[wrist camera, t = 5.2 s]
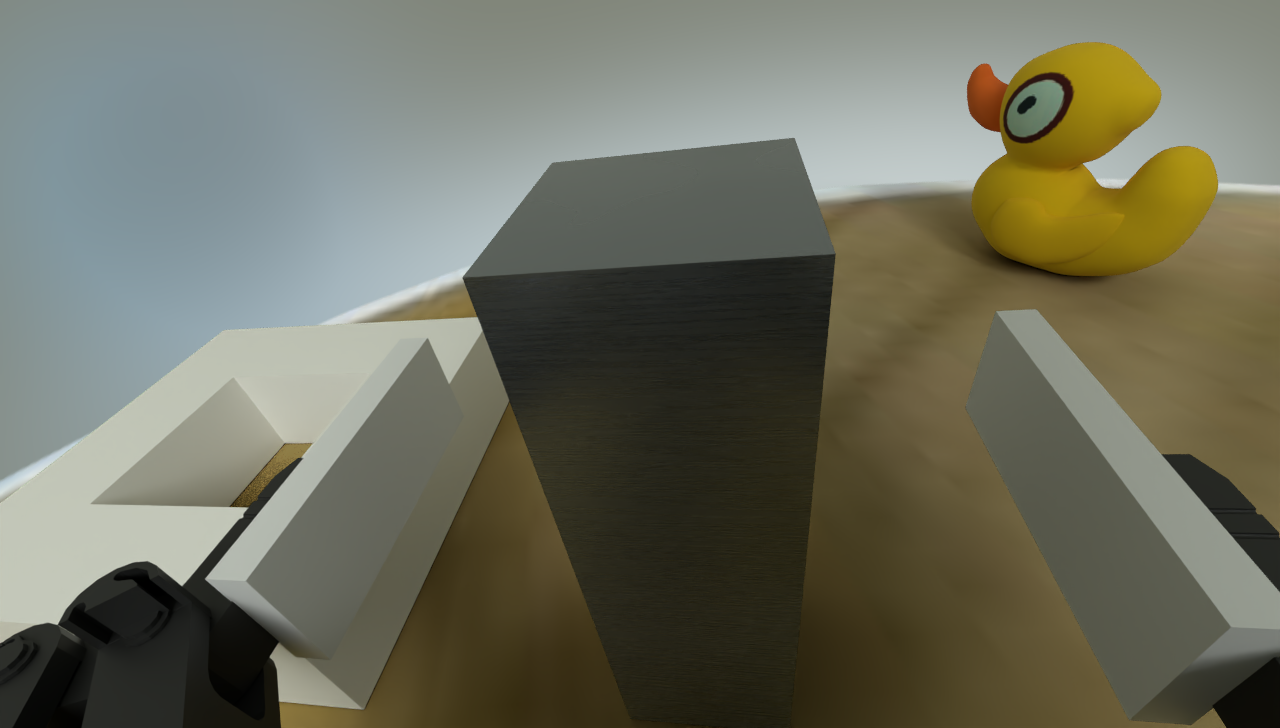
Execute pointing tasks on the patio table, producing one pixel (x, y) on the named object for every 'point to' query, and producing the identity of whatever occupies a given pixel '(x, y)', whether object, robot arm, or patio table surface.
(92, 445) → the well block
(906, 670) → the patio table surface
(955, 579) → the patio table surface
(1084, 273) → the duckling
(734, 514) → the tall dark grey pillar
